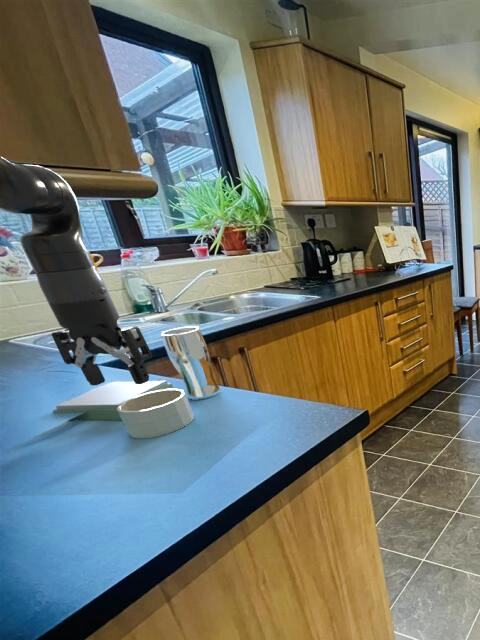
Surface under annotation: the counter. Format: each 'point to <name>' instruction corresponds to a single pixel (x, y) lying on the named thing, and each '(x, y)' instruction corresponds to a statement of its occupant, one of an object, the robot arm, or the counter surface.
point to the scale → (108, 399)
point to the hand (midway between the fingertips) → (120, 383)
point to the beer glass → (191, 361)
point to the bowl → (156, 413)
